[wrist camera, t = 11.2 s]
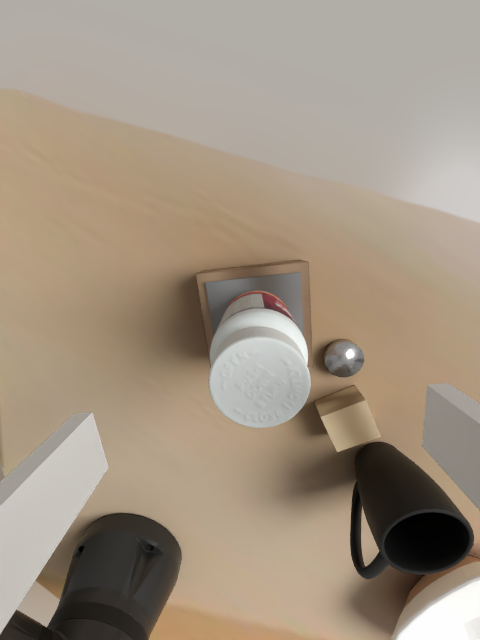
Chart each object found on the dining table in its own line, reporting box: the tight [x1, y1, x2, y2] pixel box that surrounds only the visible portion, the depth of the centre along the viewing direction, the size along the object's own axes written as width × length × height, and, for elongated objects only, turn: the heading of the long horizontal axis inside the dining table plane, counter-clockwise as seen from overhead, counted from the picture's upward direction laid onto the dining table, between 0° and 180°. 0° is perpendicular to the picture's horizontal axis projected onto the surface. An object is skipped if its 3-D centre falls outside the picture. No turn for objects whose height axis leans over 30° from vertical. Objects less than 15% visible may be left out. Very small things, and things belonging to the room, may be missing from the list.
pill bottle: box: [209, 291, 311, 428], centre depth 18 cm, size 6×6×11 cm
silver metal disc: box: [323, 339, 364, 377], centre depth 28 cm, size 4×4×1 cm
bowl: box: [391, 556, 480, 640], centre depth 35 cm, size 22×22×5 cm
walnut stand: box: [196, 260, 313, 368], centre depth 26 cm, size 10×10×4 cm
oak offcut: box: [314, 385, 381, 452], centre depth 29 cm, size 5×5×3 cm
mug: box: [350, 442, 474, 579], centre depth 28 cm, size 8×12×10 cm
